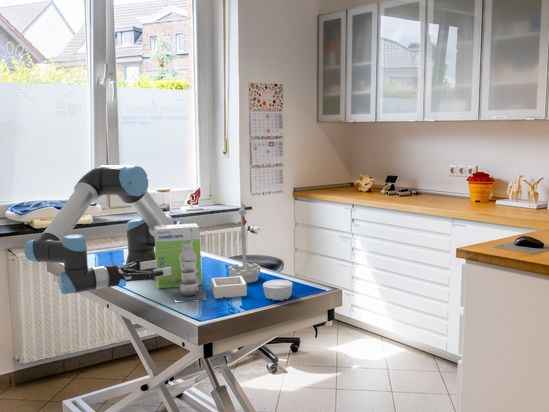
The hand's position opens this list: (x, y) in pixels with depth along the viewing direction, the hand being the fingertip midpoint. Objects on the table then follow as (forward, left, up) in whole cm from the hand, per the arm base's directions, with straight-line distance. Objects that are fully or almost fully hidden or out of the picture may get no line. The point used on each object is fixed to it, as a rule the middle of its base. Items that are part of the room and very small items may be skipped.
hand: (163, 267), depth 214 cm
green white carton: (+6, +22, -13) cm, 27 cm away
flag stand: (+33, +21, -13) cm, 42 cm away
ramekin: (+41, -7, -13) cm, 44 cm away
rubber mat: (+9, +3, -13) cm, 16 cm away
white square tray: (+24, +4, -13) cm, 28 cm away
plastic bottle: (+9, +3, -13) cm, 16 cm away
